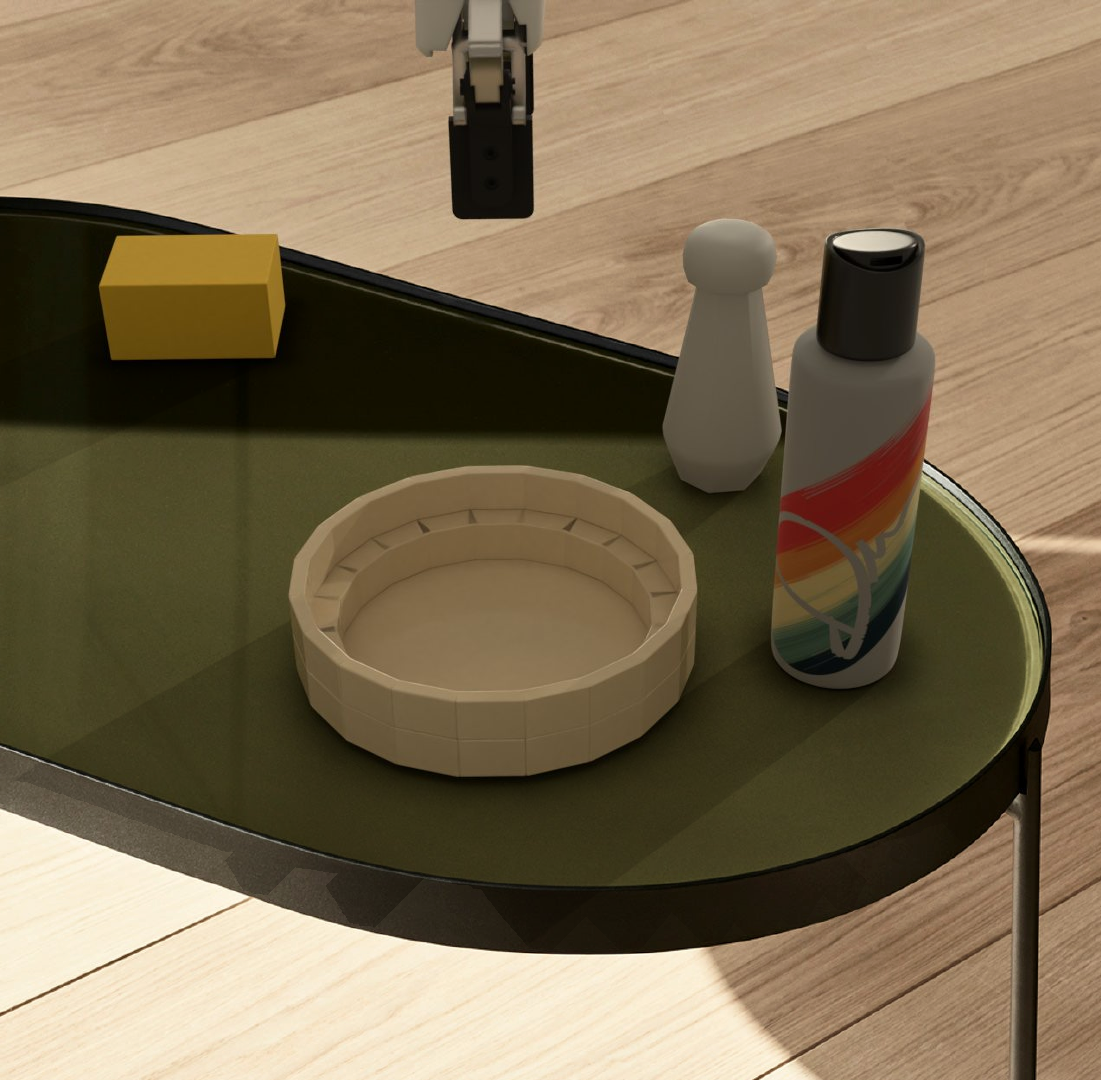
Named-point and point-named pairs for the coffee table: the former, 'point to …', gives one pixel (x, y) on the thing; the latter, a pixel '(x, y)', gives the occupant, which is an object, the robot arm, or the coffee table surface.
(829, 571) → the striped bottle
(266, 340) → the sponge
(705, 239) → the salt shaker
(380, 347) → the coffee table surface
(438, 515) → the bowl
